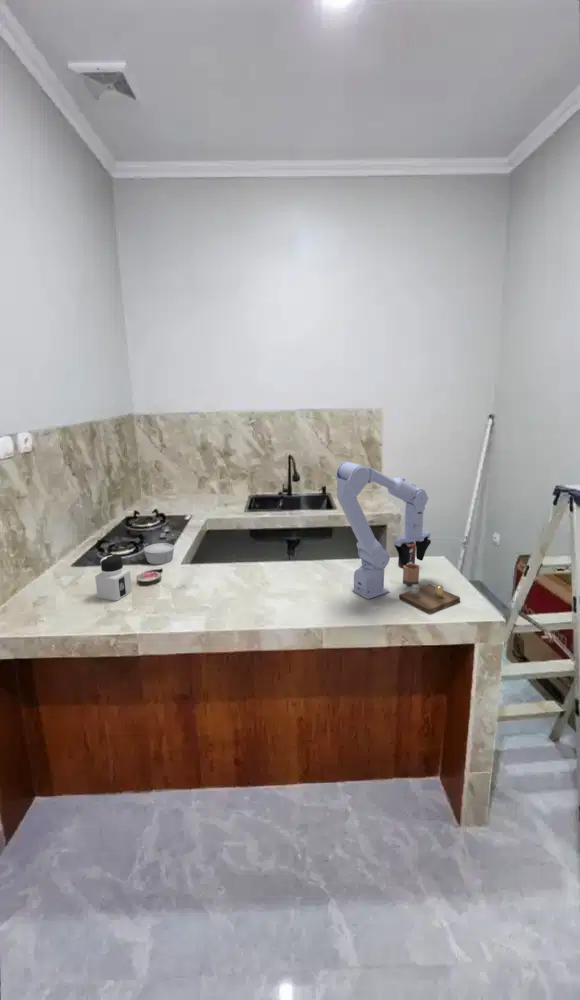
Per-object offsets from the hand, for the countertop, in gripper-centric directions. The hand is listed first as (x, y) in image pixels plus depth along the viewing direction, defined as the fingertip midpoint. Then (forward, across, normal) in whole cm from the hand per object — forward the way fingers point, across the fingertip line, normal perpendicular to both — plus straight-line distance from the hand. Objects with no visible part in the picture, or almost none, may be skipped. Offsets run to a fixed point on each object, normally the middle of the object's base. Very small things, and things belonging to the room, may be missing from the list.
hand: (411, 561), depth 158 cm
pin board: (+8, -5, -12) cm, 15 cm away
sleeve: (+8, 0, 0) cm, 8 cm away
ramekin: (+8, -64, +70) cm, 95 cm away
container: (+7, -86, +48) cm, 99 cm away
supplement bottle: (+8, +10, +12) cm, 17 cm away
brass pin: (+8, -3, -14) cm, 17 cm away
